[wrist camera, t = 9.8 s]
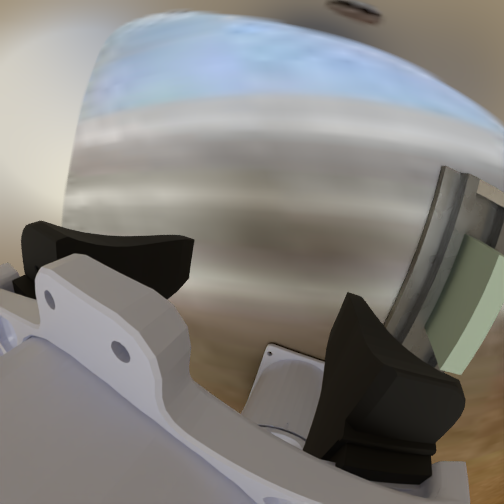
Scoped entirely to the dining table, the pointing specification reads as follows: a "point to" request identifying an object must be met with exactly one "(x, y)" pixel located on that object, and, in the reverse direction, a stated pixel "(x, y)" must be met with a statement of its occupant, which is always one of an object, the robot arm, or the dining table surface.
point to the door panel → (466, 305)
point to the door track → (444, 253)
